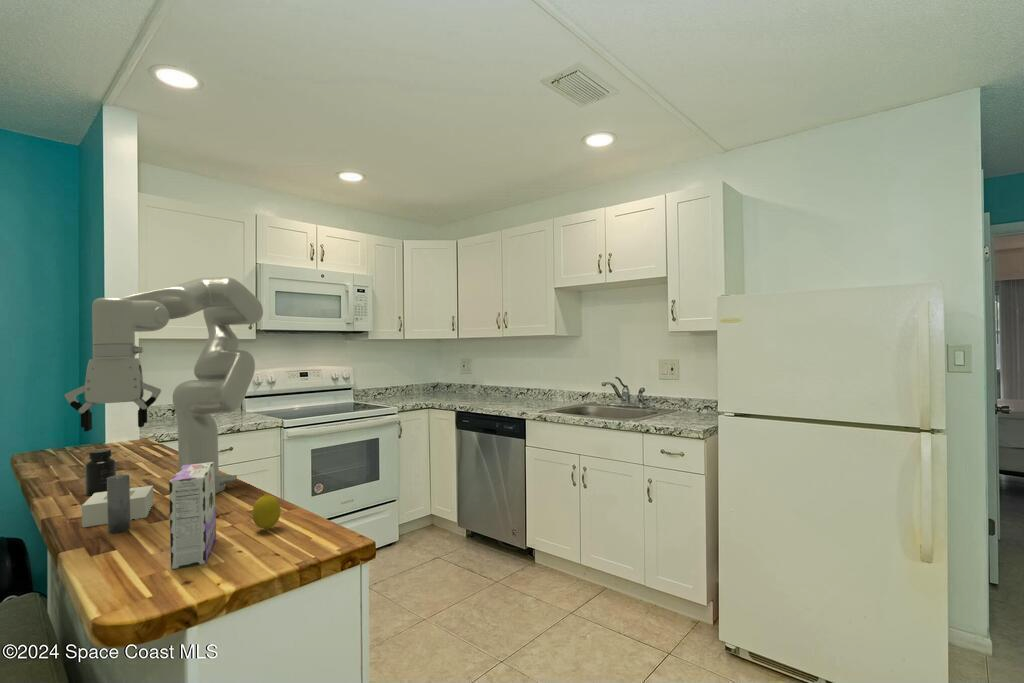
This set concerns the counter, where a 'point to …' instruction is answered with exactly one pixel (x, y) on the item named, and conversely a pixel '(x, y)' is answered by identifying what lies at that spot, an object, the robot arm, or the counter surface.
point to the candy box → (192, 515)
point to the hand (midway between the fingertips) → (115, 428)
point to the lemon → (266, 512)
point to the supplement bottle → (99, 471)
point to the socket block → (98, 510)
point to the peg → (118, 503)
